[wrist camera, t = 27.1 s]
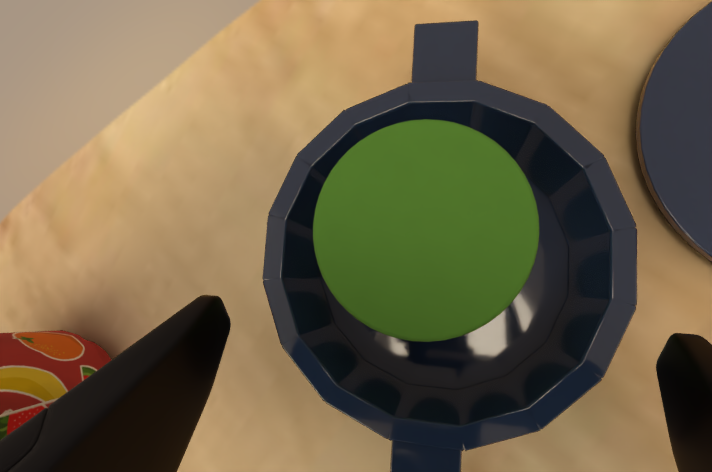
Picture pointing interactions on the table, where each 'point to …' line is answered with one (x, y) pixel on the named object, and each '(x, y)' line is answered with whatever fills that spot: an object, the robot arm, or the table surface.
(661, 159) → the lid
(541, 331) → the pot
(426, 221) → the green cylindrical container
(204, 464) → the table surface
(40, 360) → the smoothie
